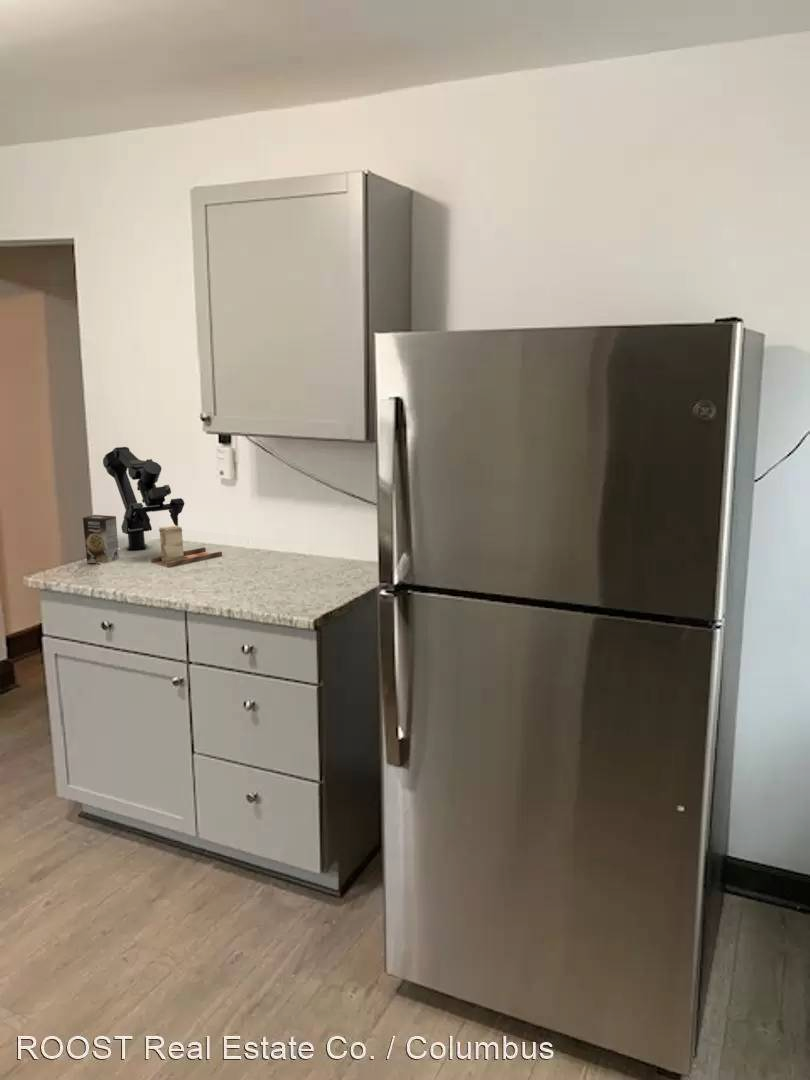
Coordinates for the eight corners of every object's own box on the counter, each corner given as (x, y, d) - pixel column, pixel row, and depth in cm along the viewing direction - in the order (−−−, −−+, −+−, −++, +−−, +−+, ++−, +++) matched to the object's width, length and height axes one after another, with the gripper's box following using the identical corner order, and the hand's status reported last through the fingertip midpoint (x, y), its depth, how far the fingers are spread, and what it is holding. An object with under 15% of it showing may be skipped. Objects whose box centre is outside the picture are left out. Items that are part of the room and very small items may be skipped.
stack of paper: (161, 562, 284) (158, 527, 281) (177, 559, 287) (175, 525, 285) (168, 565, 279) (165, 529, 277) (184, 562, 283) (181, 527, 280)
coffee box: (86, 563, 287) (81, 517, 283) (98, 559, 293) (93, 514, 289) (108, 565, 284) (104, 518, 281) (120, 561, 290) (116, 515, 287)
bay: (169, 570, 276) (168, 563, 276) (151, 565, 284) (150, 558, 283) (222, 558, 291) (222, 551, 291) (204, 554, 299) (203, 547, 298)
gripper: (127, 480, 280) (142, 517, 274) (180, 475, 291) (195, 510, 285) (121, 500, 288) (135, 537, 282) (173, 494, 299) (188, 529, 293)
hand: (164, 528), depth 285 cm, fingers open, 9 cm apart
